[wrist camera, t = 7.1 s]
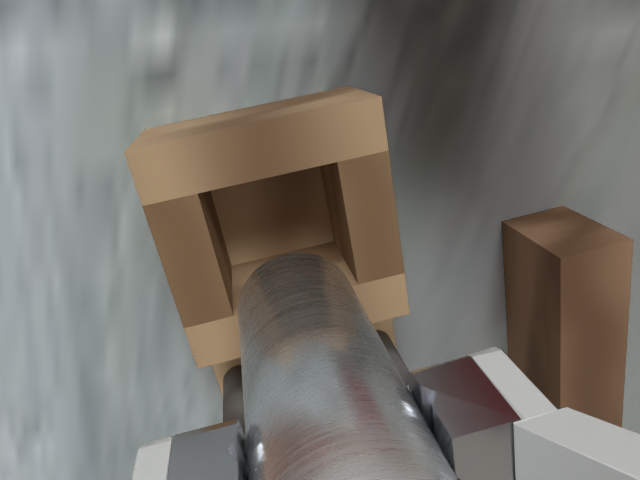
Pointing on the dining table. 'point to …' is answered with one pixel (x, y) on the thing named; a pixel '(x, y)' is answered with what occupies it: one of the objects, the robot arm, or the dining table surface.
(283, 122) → the board
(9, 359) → the dining table surface
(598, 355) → the bar
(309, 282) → the pin
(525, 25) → the dining table surface
